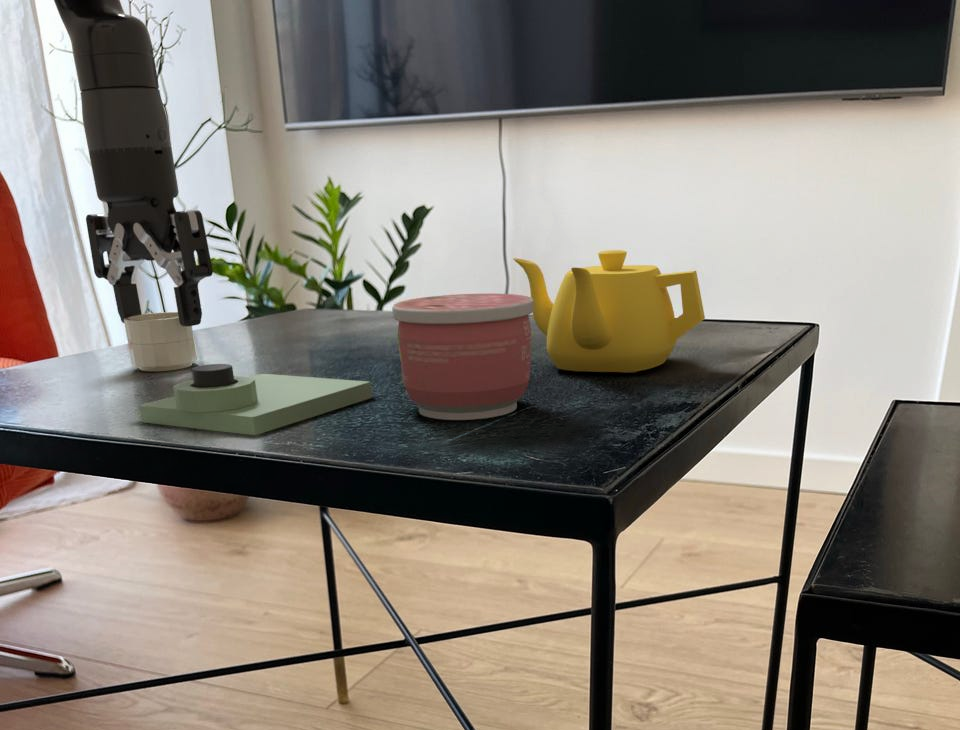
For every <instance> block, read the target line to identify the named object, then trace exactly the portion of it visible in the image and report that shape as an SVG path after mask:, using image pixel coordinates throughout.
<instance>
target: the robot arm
mask: <svg viewBox="0 0 960 730" xmlns="http://www.w3.org/2000/svg"><path fill="white" fill-rule="evenodd" d="M53 2H54V4H55V7H56V10H57V12H58V14H59V17H60V20H61V22H62V24H63V25H64V28H65V30H66V32H67V34H68V37H69V40H70V43H71V49H72V55H73V61H74V65H75V71H76V76H77V83H78V86H79V92H80V100H81V117H82V123H83V128H84V129H83V130H84V134H85V140H86V145H87V149H88V155H89V160H90V161H89V162H90V165H91V170H92V176H93V181H94V186H95V192H96V196H97V198H98V200H99V201H100V202H103V203H106V205H107V212H105V213H103V212H102V213H92V214H91V213H90V214H87V215H86V216H85V222H86V228H87V229H86V230H87V235H88V241H89V248H90V254H91V259H92V265H93V266H92V267H93V271H94V276H95V277H96V278H97V279H105V280H106V281H107V282H108V284H110V285H111V286H112V288H113V289H112V290H113V293H114V299H115V303H116V309H117V310H116V311H117V313H118V316H119V317H120V321H121V322H122V324H125V323H124V319H125V318H126V317H130V316H135V315H141V314H143V313H142V308H141V304H140V297H139V292H138V287H137V283H134V281H135V279H136V275H137V272H138V269H139V267H140V266H141V265H143V264H144V261H149V262H151V261H153V262H154V261H155V263H156V264H157V265H158V267H160V268H162V269H164V270H165V271H166V273H167V274H168V275H169V278H170V279H171V280H172V281H173V283H174V285H175V286H174V287H173V292H174V297H175V298H174V299H175V304H176V309H177V312H178V316H179V322H180V324H181V325H182V326H188V327H189V326H192V327H193V326H198V325H200V324H201V322H202V317H203V309H202V304H201V297H200V292H199V291H200V290H199V283H200V282H201V281H202V280H203V279H205V278H209V277H212V276H213V273H214V268H213V264H212V259H211V254H210V249H209V244H208V243H209V242H208V239H207V238H208V237H207V233H206V229H205V223H204V218H203V214H202V212H201V211H200V210H198V209H187V210H179V211H178V210H177V209H176V207H175V204H174V199H175V198H177V197H178V195H179V185H178V179H177V174H176V173H177V172H176V168H175V167H176V166H175V161H174V154H173V148H172V143H171V142H172V141H171V135H170V130H169V129H170V128H169V123H168V119H167V118H168V117H167V113H166V110H165V106H164V104H163V99H162V96H161V91H160V89H159V88H160V85H159V80H158V74H157V73H158V72H157V68H156V67H157V66H156V60H155V54H154V49H153V44H152V39H151V36H150V31H149V30H148V27H147V26H146V24H145V23H144V22H143V21H142V20H141V19H140V18H138V17H136V16H133V15H130V14H127V13H126V12H125V11H124V8H123V5H122V3H121V0H53ZM195 252H196V256H197V260H198V264H197V261H196V258H195V257H196V256H195ZM104 253H106V255H107V261H108V264H106V263H105V256H104Z"/></svg>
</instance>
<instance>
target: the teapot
mask: <svg viewBox="0 0 960 730" xmlns="http://www.w3.org/2000/svg"><path fill="white" fill-rule="evenodd" d="M627 253H628V251H626V250H623V249H621V250H620V249H609V250H602V251H599V252H598V253H597V255H598V259H599V262H600V265H594V266H585V267H571V268H570V270H568V271H567V272H566V273H565V274H564V276H563V278H562V281H561V283H560V285H559V288H558V291H557V294H556V297H555V298H554V302H552V300H551V298H550V297H549V293H548V289H547V286H546V281H545V280H546V279H545V276H544V273H543V272H542V269H541V268H540V266H539V265H538V264H537V263H536V262H534V261H530V260H527V259H522V258H518V257H517V258H516V257H513V258H512V260H513V261H514V262H515V263H517V264H518V265H519V266H520V267H521V268H522V269H523V271H524V273H525V274H526V277H527V279H528V283H529V291H530V292H529V293H530V298H532V299H533V301H534V311H533V312H532V313H531V314H532V317H533V320H534V322H535V325H536V326H537V327H538V329H539V330H540V331H541V333H543V334H544V335H545V336H546V351H547V353H548V355H549V358H550V359H551V361H552V363H553V364H554V366H555V367H556V368H557V369H559V370H563V371H572V372H591V373H595V372H596V373H623V374H625V373H626V374H631V373H637V372H639V371H640V372H641V371H646V370H649V369H653V368H655V367H658V366H661V365H663V364H664V363H665V362H666V361H667V359H668V358H669V357H670V355H671V353H672V352H673V350H674V348H675V346H676V344H677V340H678V339H680V338H681V337H683V336H684V335H685V334H687V333H688V332H689V331H691V330H692V329H693V328H694V327H695V326H697V325H698V324H700V323H701V322H703V321H704V320H705V319H706V317H705V309H704V305H703V300H702V295H701V290H700V284H699V279H698V273H697V270H688V271H679V272H671V273H661V270H660V269H659V267H658V266H657V265H650V264H649V265H648V264H647V265H646V264H645V265H644V264H642V265H641V264H628V265H627V264H626V265H625V260H626V257H627ZM677 285H680V296H681V305H682V306H681V307H682V314H681V315H679V316H678V317H676V316H675V311H674V308H673V302H672V300H671V297H670V293H669V290H668V287H672V286H677ZM675 317H676V318H675Z"/></svg>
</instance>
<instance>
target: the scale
mask: <svg viewBox="0 0 960 730" xmlns="http://www.w3.org/2000/svg"><path fill="white" fill-rule="evenodd" d="M234 382H235V384H232V385H228V386H221V387H211V388H196V387H194V381H193V379H190V380H185V381H181V382H178V383H177V384H175V385H174V386H173V387H172V389H173V395H174V396H169V397H165V398H162V399H157V400H154V401H150V402H146V403H142V404H138V409H139V416H140V421H141V423H145V424H146V423H147V424H154V425H155V424H156V425H163V426H164V425H165V426H171V427H181V428H188V429H197V430H207V431H216V432H225V433H232V434H242V435H251V436H258V435H261V434H263V433H264V434H265V433H267V432H269V431H273V430H276V429H279V428H282V427H285V426H288V425H292V424H295V423H298V422H301V421H304V420H308V419H310V418H314V417H316V416H320V415H323V414H326V413H329V412H332V411H336V410H338V409H341V408H344V407H348V406H351V405H354V404H357V403H360V402H363V401H367V400H370V399H373V392H372V391H373V390H372V381H369V380H368V381H367V380H354V379H353V380H352V379H340V378H329V377H327V378H324V377H315V376H314V377H313V376H302V375H301V376H299V375H287V374H271V373H260V374H255V375H251V376H242V375H241V376H240V375H234Z"/></svg>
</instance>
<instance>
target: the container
mask: <svg viewBox="0 0 960 730" xmlns="http://www.w3.org/2000/svg"><path fill="white" fill-rule="evenodd" d="M391 310H392V319H394V320H395V321H398V325H397V326H398V327H397V343H398V351H399V360H400V368H401V376H402V384H403V387H404V388H405V391H406V393H407V395H408V397H409V399H410V400H411V402H413V403H414V404H415V405H416V406H418V413H419V414H420V415H421V416H423V417H426V418H429V419H435V420H436V419H437V420H446V421H447V420H448V421H467V420H469V421H470V420H482V419H490V418H495V417H499V416H504V415H508V414H509V413H513V412H514V411H516V410H517V408H518V401H519V400H520V399H521V398H522V397H523V396H524V395H525V393H526V391H527V387H528V385H529V381H530V379H531V353H532V352H531V351H532V350H531V347H532V326H531V321H530V316H529V315H531V314H533V313H532V312H533V311H534V301H533V299H532V298H531V296H528V295H522V294H515V293H514V294H513V293H457V294H445V295H433V296H423V297H417V298H411V299H405V300H402V301H401V300H400V301H398V302H396V303H394V304H393V305H392V307H391Z"/></svg>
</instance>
